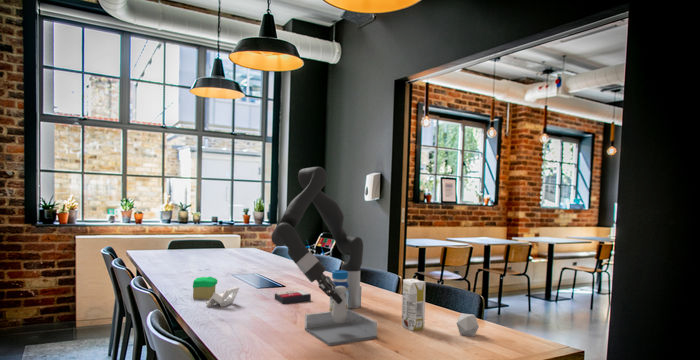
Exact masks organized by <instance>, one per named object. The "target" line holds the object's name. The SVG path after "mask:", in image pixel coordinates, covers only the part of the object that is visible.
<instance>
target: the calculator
mask: <svg viewBox="0 0 700 360" xmlns="http://www.w3.org/2000/svg"><path fill="white" fill-rule="evenodd" d="M311 298H312V296H311V293H309V292H307V291H305V290H304V289H298V290H297V289H293V290H286V291H279V292H278V291H277V292H275V293H274V300H275V301H277V302H279V303H281V304H283V305H284V304H285V305H286V304H294V303H295V304H296V303H305V302H311V301H312V299H311Z"/></svg>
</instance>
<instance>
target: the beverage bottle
mask: <svg viewBox="0 0 700 360" xmlns="http://www.w3.org/2000/svg"><path fill="white" fill-rule="evenodd" d="M332 279H333V280H332ZM347 279H348V271H345V270H341V269H334V270H332V272H331V280H332V281H333V283H334V284H335V285H336V286H344V287H346V293H344V295H345V304H346V309H349V308H348V298H349V291H348V289H349V285H348V282H347V281H346V280H347ZM334 301H335V300H334V299H333V298H332V297H329V309H328V310H329V311H332V310H333V305H334ZM329 311H328V312H329Z"/></svg>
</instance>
